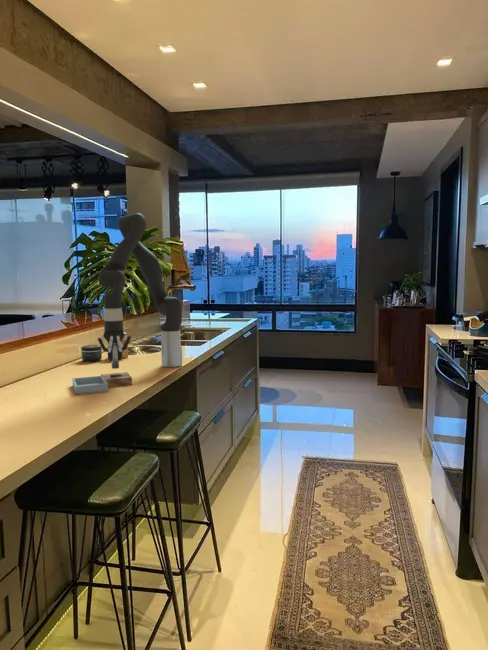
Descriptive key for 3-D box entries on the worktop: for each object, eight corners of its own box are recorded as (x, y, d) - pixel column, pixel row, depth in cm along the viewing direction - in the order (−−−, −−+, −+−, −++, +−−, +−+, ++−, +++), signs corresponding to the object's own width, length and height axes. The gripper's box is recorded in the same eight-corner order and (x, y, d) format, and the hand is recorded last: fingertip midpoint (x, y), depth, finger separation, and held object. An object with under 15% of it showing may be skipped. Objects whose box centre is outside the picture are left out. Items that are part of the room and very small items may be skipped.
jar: (106, 359, 260) (105, 344, 259) (94, 363, 251) (93, 348, 250) (89, 358, 264) (89, 343, 263) (77, 361, 254) (76, 347, 253)
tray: (103, 382, 209) (102, 375, 209) (108, 391, 195) (107, 384, 194) (72, 385, 205) (72, 378, 204) (75, 394, 190) (75, 387, 190)
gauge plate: (127, 378, 216) (127, 372, 215) (131, 384, 205) (131, 377, 205) (101, 381, 211) (100, 374, 211) (104, 387, 201) (104, 380, 201)
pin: (118, 366, 210) (117, 343, 208) (119, 368, 207) (118, 344, 206) (111, 367, 208) (110, 343, 207) (112, 368, 206) (111, 344, 204)
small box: (113, 359, 260) (112, 334, 258) (109, 357, 265) (108, 333, 263) (128, 357, 264) (127, 333, 262) (124, 355, 269) (123, 331, 268)
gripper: (129, 317, 211) (130, 357, 213) (94, 319, 206) (96, 360, 208) (132, 319, 204) (133, 360, 207) (96, 321, 199) (98, 363, 201)
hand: (115, 360), depth 207 cm, fingers closed on pin, 3 cm apart
